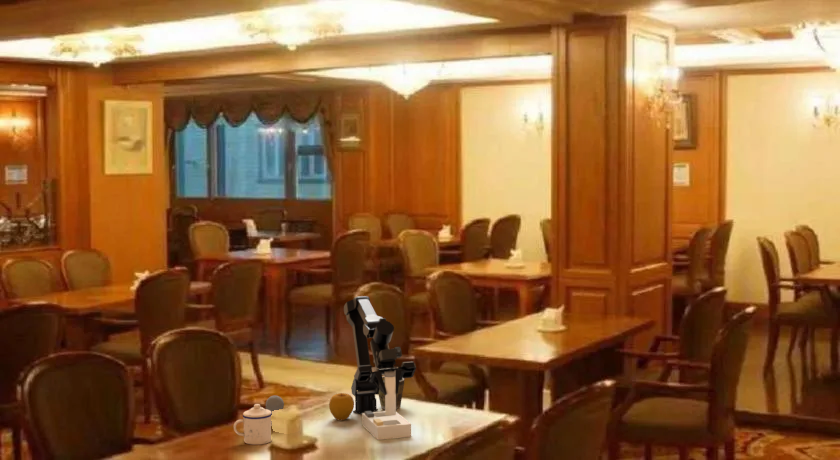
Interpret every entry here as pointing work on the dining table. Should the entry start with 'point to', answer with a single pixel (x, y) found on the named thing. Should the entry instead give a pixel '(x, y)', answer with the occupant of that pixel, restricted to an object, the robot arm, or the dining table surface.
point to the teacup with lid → (256, 425)
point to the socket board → (386, 425)
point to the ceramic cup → (398, 396)
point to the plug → (390, 393)
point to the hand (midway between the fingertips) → (391, 394)
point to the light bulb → (274, 403)
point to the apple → (341, 406)
